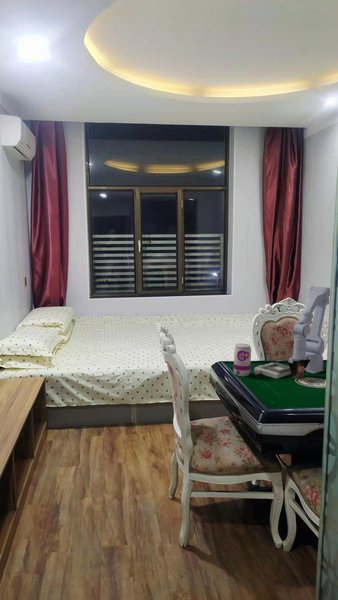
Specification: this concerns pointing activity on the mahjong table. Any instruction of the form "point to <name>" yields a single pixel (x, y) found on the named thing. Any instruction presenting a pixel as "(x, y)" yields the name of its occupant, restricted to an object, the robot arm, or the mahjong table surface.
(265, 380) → the mahjong table surface
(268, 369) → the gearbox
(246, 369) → the supplement can
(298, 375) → the spout can
